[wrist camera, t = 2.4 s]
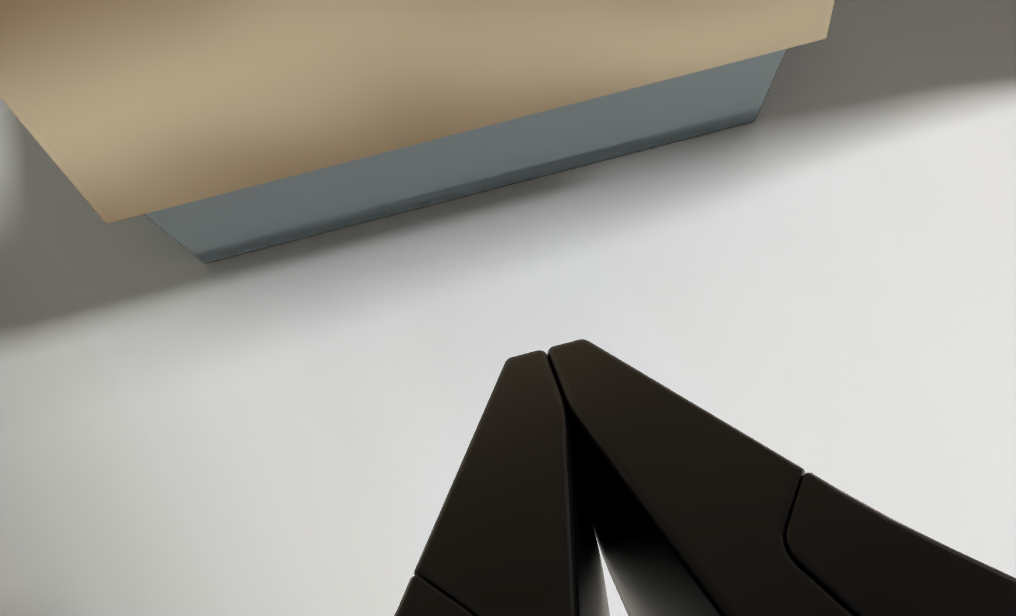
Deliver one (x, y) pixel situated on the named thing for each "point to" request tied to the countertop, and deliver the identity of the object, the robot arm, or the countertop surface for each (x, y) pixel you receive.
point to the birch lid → (333, 77)
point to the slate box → (471, 161)
